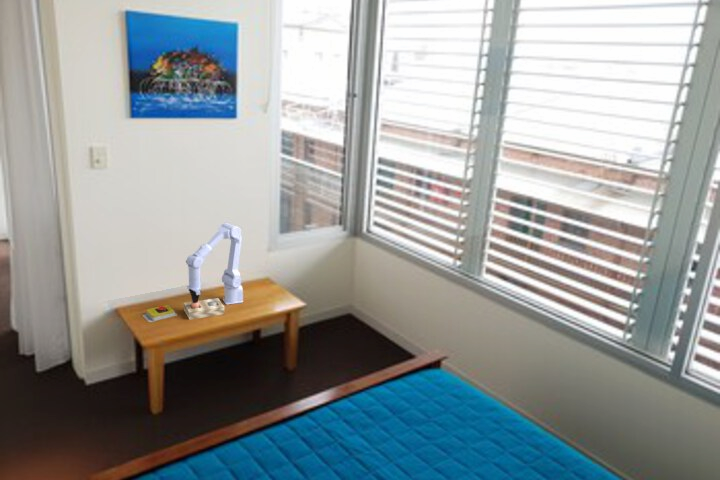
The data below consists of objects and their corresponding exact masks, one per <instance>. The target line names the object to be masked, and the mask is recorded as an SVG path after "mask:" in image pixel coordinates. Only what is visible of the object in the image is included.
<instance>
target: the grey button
mask: <svg viewBox="0 0 720 480" xmlns="http://www.w3.org/2000/svg"><path fill="white" fill-rule="evenodd" d="M215 305H217V302H215V301H211V302H209V306H215Z"/></svg>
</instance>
